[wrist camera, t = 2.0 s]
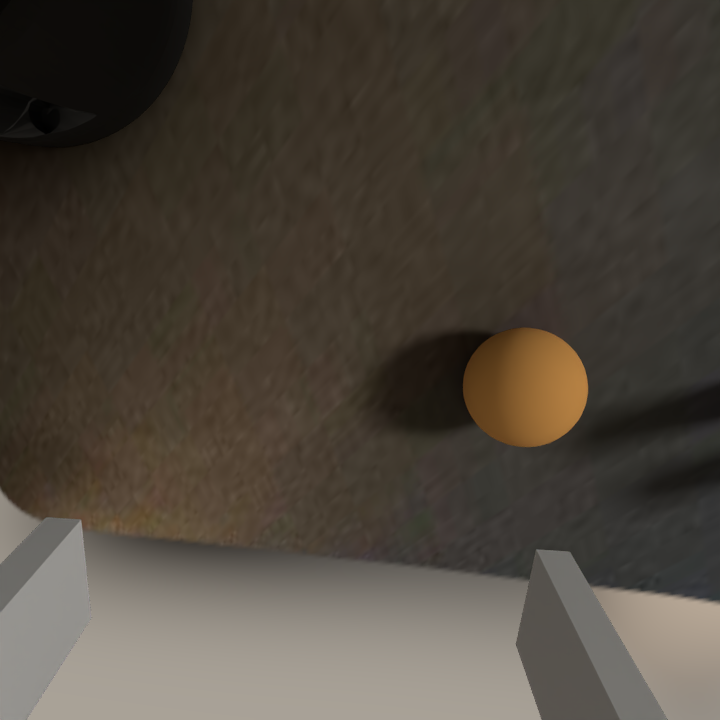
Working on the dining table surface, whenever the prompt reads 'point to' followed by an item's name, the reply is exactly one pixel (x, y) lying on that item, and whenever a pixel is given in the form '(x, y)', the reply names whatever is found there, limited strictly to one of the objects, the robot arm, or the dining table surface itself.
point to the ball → (525, 387)
